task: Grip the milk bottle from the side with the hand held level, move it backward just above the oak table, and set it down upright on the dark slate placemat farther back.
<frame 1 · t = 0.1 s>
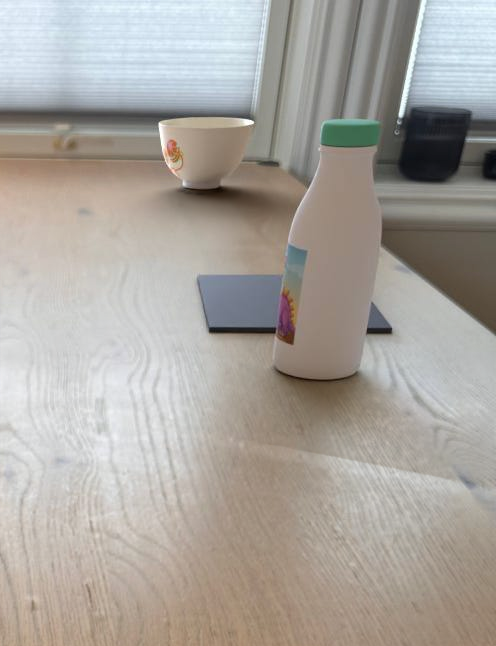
milk bottle: (314, 370, 89), on the table
placemat: (285, 303, 107), on the table
bowl: (201, 187, 172), on the table
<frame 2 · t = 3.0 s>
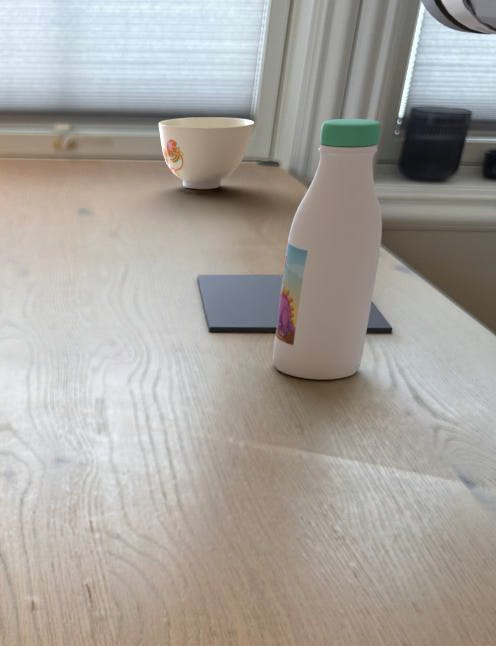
nothing on the table moved.
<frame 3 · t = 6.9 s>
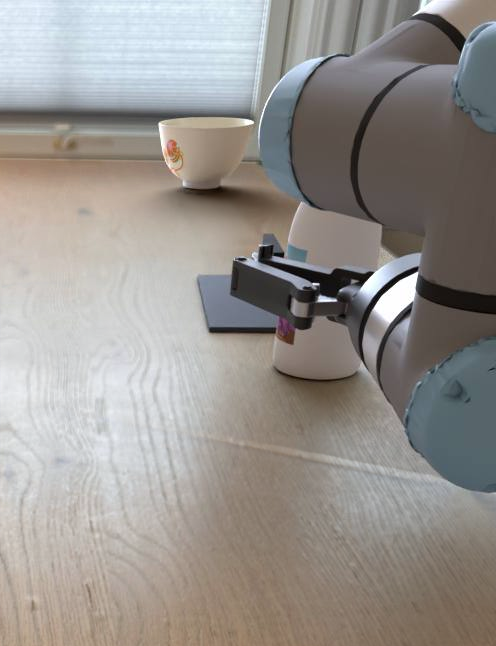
hand: (356, 251, 75), 12 cm above the table, tool horizontal, fingers open, 13 cm apart
nothing on the table moved.
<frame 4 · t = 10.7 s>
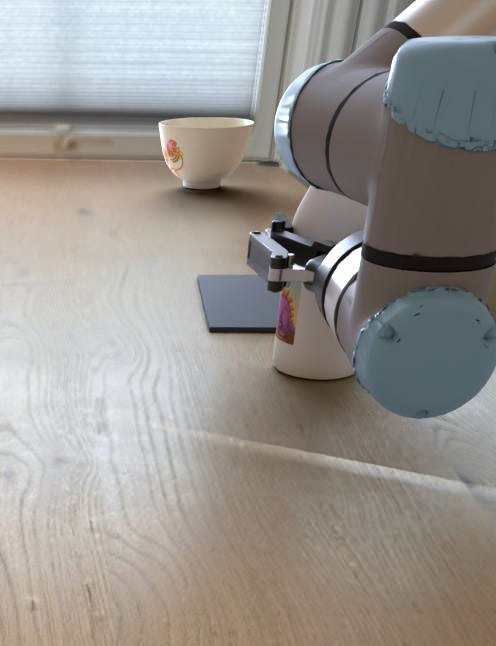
hand: (324, 228, 87), 11 cm above the table, tool horizontal, fingers closed on milk bottle, 8 cm apart
milk bottle: (314, 370, 89), on the table, touching gripper
everything else where it was.
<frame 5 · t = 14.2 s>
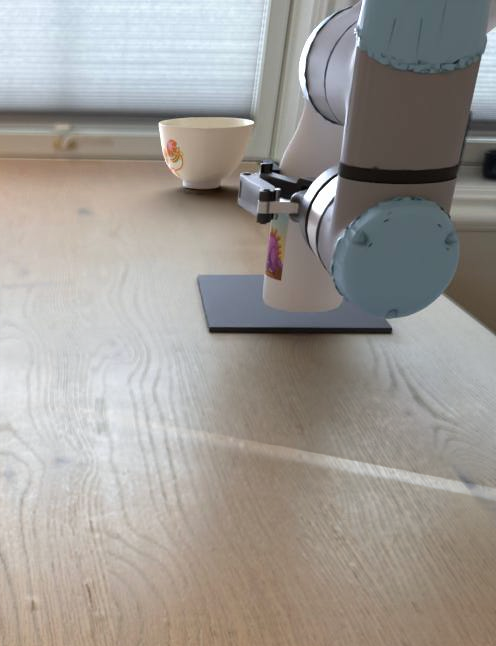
hand: (309, 174, 94), 14 cm above the table, tool horizontal, fingers closed on milk bottle, 8 cm apart
milk bottle: (301, 306, 96), point 3 cm above the table, touching gripper
everything else where it was.
when the fingers open (11 cm above the table, at t = 17.7 s): milk bottle stays where it is, resting on placemat.
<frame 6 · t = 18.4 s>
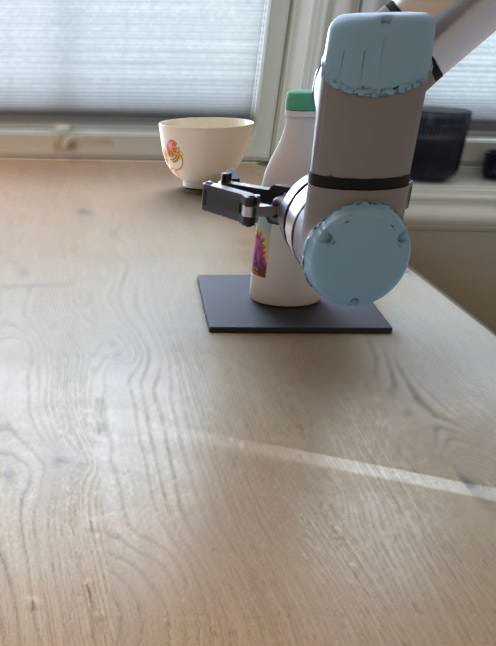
hand: (294, 182, 103), 12 cm above the table, tool horizontal, fingers open, 13 cm apart
milk bottle: (284, 300, 107), resting on placemat
everything else where it was.
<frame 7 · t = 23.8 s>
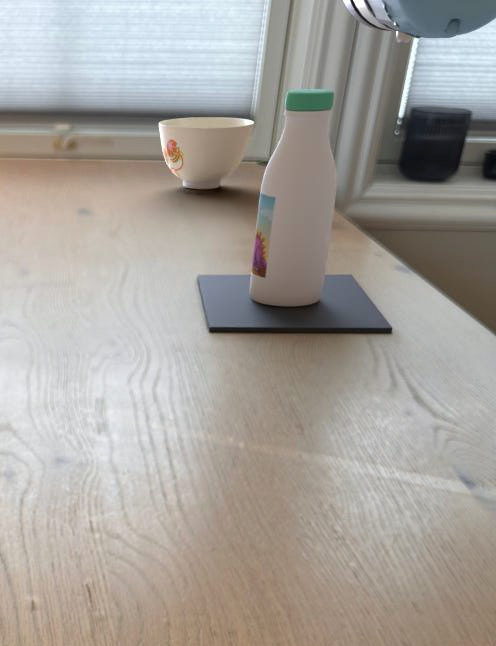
nothing on the table moved.
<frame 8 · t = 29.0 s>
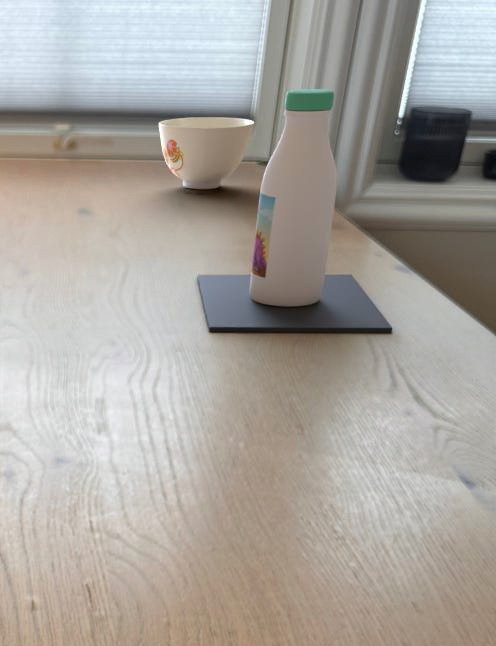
nothing on the table moved.
at the end: milk bottle inside the target area on the placemat (0.2 cm from its centre), point 0.3 cm above the placemat's base; milk bottle tilted 0°; the gripper is holding nothing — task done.
